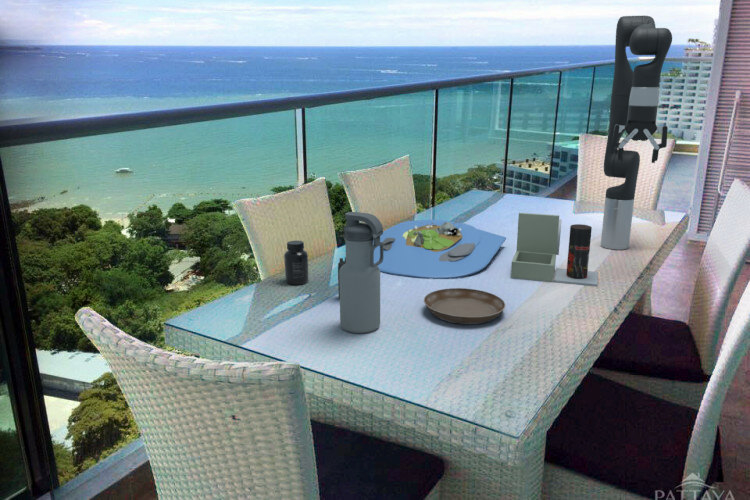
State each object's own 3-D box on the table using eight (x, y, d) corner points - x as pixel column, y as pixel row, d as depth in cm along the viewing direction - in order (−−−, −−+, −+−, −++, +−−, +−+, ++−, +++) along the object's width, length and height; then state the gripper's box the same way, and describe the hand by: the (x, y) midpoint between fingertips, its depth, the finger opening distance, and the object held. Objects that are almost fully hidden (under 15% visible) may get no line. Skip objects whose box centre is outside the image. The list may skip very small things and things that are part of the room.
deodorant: (588, 279, 185) (593, 229, 181) (567, 278, 187) (571, 228, 182) (586, 273, 191) (590, 224, 187) (565, 272, 192) (569, 223, 188)
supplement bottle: (312, 279, 188) (311, 240, 185) (302, 286, 182) (301, 246, 179) (291, 276, 191) (290, 238, 187) (281, 284, 184) (279, 244, 181)
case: (515, 265, 201) (519, 212, 196) (557, 268, 197) (562, 215, 192) (510, 277, 189) (514, 222, 184) (555, 282, 185) (559, 225, 180)
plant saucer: (486, 296, 175) (487, 284, 174) (518, 325, 156) (519, 312, 155) (414, 301, 171) (414, 290, 170) (437, 332, 152) (438, 319, 151)
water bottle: (388, 322, 157) (388, 211, 149) (371, 337, 148) (370, 221, 141) (351, 316, 161) (349, 208, 153) (333, 330, 153) (330, 216, 145)
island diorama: (466, 304, 184) (466, 265, 179) (338, 279, 203) (335, 243, 198) (513, 245, 219) (514, 212, 214) (400, 229, 239) (399, 198, 234)
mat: (556, 269, 196) (556, 267, 196) (597, 273, 192) (597, 271, 192) (554, 282, 185) (554, 280, 185) (597, 286, 182) (597, 284, 181)
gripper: (669, 103, 178) (662, 161, 183) (615, 102, 182) (610, 159, 187) (672, 105, 171) (665, 165, 176) (616, 104, 176) (610, 162, 180)
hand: (636, 162), depth 181 cm, fingers open, 8 cm apart
